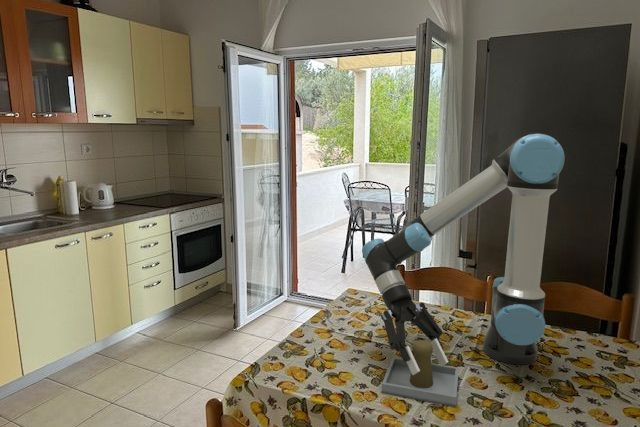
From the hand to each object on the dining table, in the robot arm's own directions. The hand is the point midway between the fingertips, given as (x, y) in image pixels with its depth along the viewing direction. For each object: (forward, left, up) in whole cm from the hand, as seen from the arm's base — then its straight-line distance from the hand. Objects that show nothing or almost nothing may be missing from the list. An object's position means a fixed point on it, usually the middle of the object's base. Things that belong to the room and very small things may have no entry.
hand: (430, 368), depth 112 cm
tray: (+2, -2, -6) cm, 7 cm away
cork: (+2, -2, -6) cm, 6 cm away
